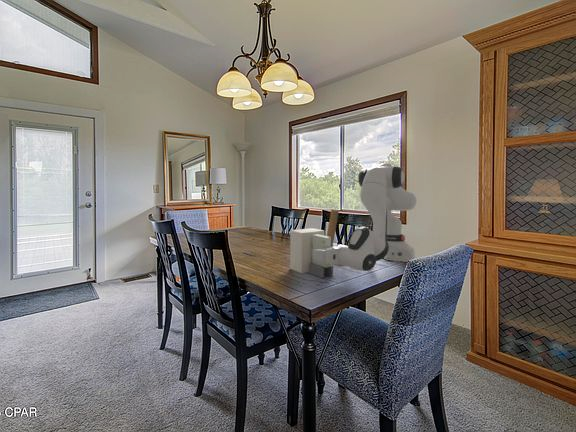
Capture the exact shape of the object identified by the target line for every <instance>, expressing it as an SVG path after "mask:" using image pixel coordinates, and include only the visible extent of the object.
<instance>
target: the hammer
mask: <svg viewBox="0 0 576 432" xmlns="http://www.w3.org/2000/svg"><path fill="white" fill-rule="evenodd" d="M339 213H340V211H339V210H338V209H330V215H329V221H328V228H327V233H326V236H327V237H331V247H334V241H335V236H336V234H335V233H336V229H337V224H338V217H339Z"/></svg>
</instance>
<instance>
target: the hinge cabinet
mask: <svg viewBox="0 0 576 432" xmlns="http://www.w3.org/2000/svg"><path fill="white" fill-rule="evenodd" d="M316 234H318V235H323V236H325V230H323V229H317V228H314V227H313V228H312V227H311V228H300V229H292V230H290V234H289V235H290V238H289V239H290V241H289V242H290V243H289V244H290V245H289V247H290V248H289V249H290V250H289V251H290V252H289V253H290V255H289V256H290V257H289V259H290V265H289V266H290V267H289V269H290V270H291V271H295V272H297V273H300V274H306V273H308V274H311V275H314V276H316V277H318V278H321V279H325V275H327V276H330V277H333V276H334V264H330V267H326V268H325V267H322V266H319V265H317V264H314V263H312V249H313V235H316Z"/></svg>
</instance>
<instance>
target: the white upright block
mask: <svg viewBox="0 0 576 432" xmlns="http://www.w3.org/2000/svg"><path fill="white" fill-rule="evenodd" d="M330 247H331V237H327V235H324V236H323V235H318V234H316V235H313V249H312V263H314V264H317V265H319V266H322V267H325V268H326V267H330V265H331V264H326V262H322V261H319V260H317V259H314V258H313V250H315V249H318V248H330Z"/></svg>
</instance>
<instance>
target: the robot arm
mask: <svg viewBox="0 0 576 432" xmlns="http://www.w3.org/2000/svg"><path fill="white" fill-rule="evenodd" d="M405 177H406V176H405V173H404V169H402V168H401V167H399V166H393V165H392V164H391V163H388V162H383V163H380V164H378V165H377V166H372V167H370V168H369V167H366V168H363V169H361V170H360V171H359V174H358V177H357V179H358V184H359V187H361V188H360V194H359V195H360V201H361V203H362V205H363V207H364V208H365V209H366V210H367V212H368V213H369V216H370V217H371V219H372V230H371V229H370V228H368V227H367V226H360V227H357V228H356V229H355V230H353V231H352V232H351V235H350V237H349V240H348V244H347V245H345V244H338V245H337V246H333V247H330V248H318V249H315V250H313V258H314V259H317V260H319V261H322V262H326V264H330V265H338V266H342V267H349V268H351V269H353V270H355V271H361V272H368V271H370V270H372V269H373V268H374V267H375V266H376V265H377V264H376V263H377V262H379V261H381V260H385V259H386V260H385V261H387V260H393V261H392V262H401V261H402V262H404V263H409V262H408V261H409V260H411V259H414V258H419V256H418V255H415V250H414V248H413V247H412V245H410V244H409V243H408V242H407V241H406V236H405V235H404V234H402V227H403V226H402V220H401V219H400V218H399V217H397V216H395V215H394V214H393V211H396V212H398V211H399V212H405V211H411V210H413V209H414V208H415V207H416V206H417V198H416V195H415V194H414V193H413V192H410V191H408V190H406V189H404V188H403V187H402V186H403V185H404V182H405ZM383 258H384V259H383Z"/></svg>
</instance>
